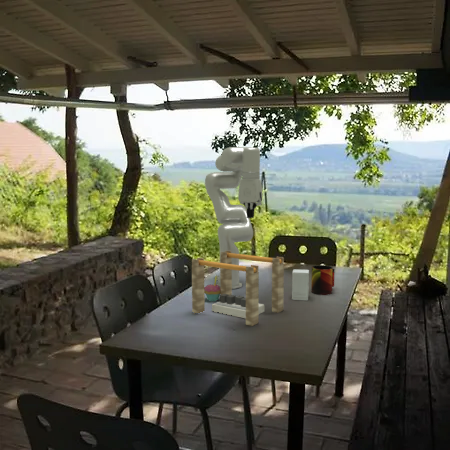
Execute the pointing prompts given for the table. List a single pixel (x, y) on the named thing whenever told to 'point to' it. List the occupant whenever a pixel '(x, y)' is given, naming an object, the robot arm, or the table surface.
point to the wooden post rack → (251, 286)
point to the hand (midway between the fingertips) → (250, 217)
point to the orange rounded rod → (223, 265)
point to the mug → (322, 280)
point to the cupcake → (212, 291)
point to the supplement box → (300, 284)
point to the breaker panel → (233, 306)
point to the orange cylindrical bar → (250, 257)
